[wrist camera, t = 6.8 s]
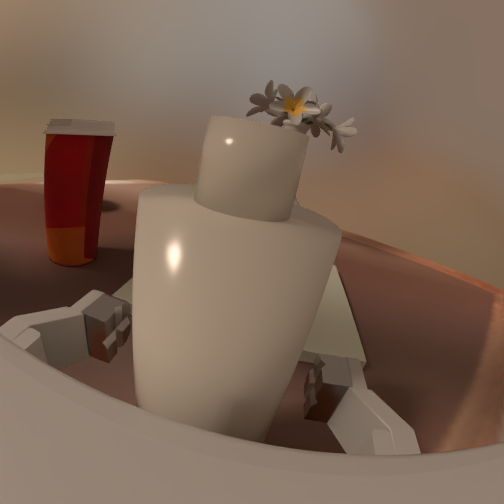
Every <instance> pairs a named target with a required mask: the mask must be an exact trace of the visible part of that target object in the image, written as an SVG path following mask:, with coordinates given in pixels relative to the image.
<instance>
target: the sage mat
mask: <svg viewBox="0 0 504 504" xmlns="http://www.w3.org/2000/svg"><path fill="white" fill-rule="evenodd" d="M132 293H133V278H131V279H130V280H129V281H128V282H127V283H125V284H124V285H123V286H122V287H121V288H120V289H118V290H117V291H116V292H115V293H114V294H113V295H112V296H114V297H117V298H119V299H122V300H125V301H127V302H129V304H130V314H131V315H132ZM318 353H322V354H328V355H334V356H339V357H348V358H356V359H359V360H360V363H361V366H362V370H363V368H364V366H365V364H366V362H367V361H366V358H365V354H364V351H363V348H362V344H361V341H360V338H359V334H358V331H357V328H356V325H355V322H354V319H353V316H352V312H351V309H350V306H349V303H348V300H347V297H346V294H345V291H344V288H343V286H342V283H341V280H340V277H339V274H338V271H337V268H336V266H335V265H333V267H332V270H331V273H330V276H329V279H328V282H327V285H326V288H325V291H324V294H323V296H322V299H321V302H320V305H319V308H318V311H317V313H316V316H315V319H314V322H313V324H312V327H311V330H310V332H309V335H308V338H307V340H306V343H305V346H304V348H303V351H302V353H301V356H300V358H299V361H303V362H308V363H313V361H314V359H315V357H316V355H317V354H318Z"/></svg>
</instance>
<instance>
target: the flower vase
mask: <svg viewBox="0 0 504 504" xmlns="http://www.w3.org/2000/svg"><path fill="white" fill-rule="evenodd" d="M278 91H279V93H280V95H281V97H280V98H279V97H276V94H277V92H278ZM265 95H266V97H267V98H266V97H265V96H264V95H262V94H258V93H256V94H253V95H251V97H250V102H251V103H253V104H255V105H258V107H257V106H256V107H254V108H252V109H251V110H250V111H249V112H248V113H247V115H246V116H247V117H248V116H251V115H253V114H255V113H258V112H263V111H266V113H268V114H270V115H272V116H275V117H276V118H274V119H273V120H272V121H271V123H270V124H271V125H275V126H279V127H281V126H283V125H284V128H287V129H290V130H294V131H297V132H300V133H303V134H305V135H306V133H307V131H308V130H309V129H311V133H312V135H313V136H314V137H318V136H319V135H320V128H321V129H322V130H324V131H325V132H326V133H327V134H328V135H329V136H330V134H329V132H328V130H330V131H333V139H332V145H331V150H333V149H334V147H335V146H336V144H337V147H338V151H339V152H340V153H342V152H343V150H344V147H345V141H344V138H343V137H342V136H344V137H352V136H354V135H355V134H356V133H357V129H356V128H352V127H350V128H349V127H348V126H350V125H351V124H352V123H353V121H354V117H353V118H351V119H350V120H348V121H346V122H345V123H343V124H341V125H339V126H337V127H336V126H335V124H334V123H333V122H331V121H330V120H328V119H325V118H324V117H325V116H327V115H328V114H329V113H330V111H331V109H332V106H331V104H330V103H325V104H322V105H321V106H320V107H319V104H318V100H317V96H316V94H315V99H314V101H312V100H311V99H309V98H310V96H311V95H312V89H311V88H310V87H308V86H307V87H303V88H302V89H300V90H299V91H298V92H297V93H296V95H295V97H294V94H293V92H292V90H291V89H290V88H289V87H288V86H286V85H284V84H279V85H278V89H276V90H274V91H273V81H272V80H271V81H270V82H269V83H268V84H267V86H266V89H265ZM275 98H277V99H278V100H279V101H274V100H275ZM259 106H260V107H259ZM309 125H310V126H309ZM319 127H320V128H319ZM341 135H342V136H341ZM294 204H296V205H299V203H298V202H297V199H296V196H295V200H294ZM299 206H300V205H299Z"/></svg>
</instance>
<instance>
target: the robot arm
mask: <svg viewBox="0 0 504 504" xmlns="http://www.w3.org/2000/svg"><path fill="white" fill-rule="evenodd" d="M129 314H130V304H129V302H127V301H125V300H122V299H119V298H117V297H114V296H111V295H109V294H105V293H104V292H101V291H98V290H92V291H90V292H89V293H88V294H86V295H85V296H84V297H83V298H81V299H80V300H79V301H78V302H76V303H75V304H74V305H72V306H71V307H70V308H69V307H67V306H66V307H61V308H56V309H51V310H46V311H40V312H35V313H30V314H25V315H19V316H14V317H13V318H12V319H10V320H9V321H8V322H6V323H5V324H4V325H2V326H1V327H0V504H504V442H500V443H496V444H491V445H486V446H481V447H475V448H469V449H462V450H455V451H446V452H436V453H424V454H421V452H420V449H419V446H418V442H417V439H416V436H415V432H414V429H412V428H411V427H410V426H409V425H408V424H407V423H406V422H405V421H404V420H403V419H402V418H401V417H400V416H399V415H397V414H396V413H395V412H394V411H393V410H392V409H391V408H390V407H389V406H388V405H387V404H386V403H385V402H384V401H383V400H381V399H380V398H379V397H378V396H377V395H376V394H375V393H374V392H373V391H372V390H368V389H367V385H366V381H365V377H364V374H363V370H362V366H361V363H360V360H359V359H356V358H348V357H339V356H334V355H328V354H322V353H318V354H317V355H316V357H315V359H314V361H313V365H314V368H313V369H312V370H310V371H309V373H308V375H307V378H306V381H305V385H304V397H305V398H306V401H305V403H304V419H307V420H313V421H319V422H325V423H327V425H328V426H329V428H330V429H331V431H332V432H333V434H334V435H335V437H336V438H337V440H338V441H339V443H340V444H341V446H342V447H343V449H344V450H345V452H346V453H347V454H342V453H328V452H318V451H309V450H301V449H293V448H287V447H280V446H274V445H269V444H263V443H258V442H253V441H248V440H244V439H239V438H235V437H231V436H226V435H222V434H219V433H215V432H211V431H207V430H204V429H200V428H197V427H193V426H190V425H187V424H183V423H180V422H177V421H174V420H171V419H168V418H165V417H162V416H159V415H157V414H154V413H151V412H148V411H146V410H143V409H141V408H138V407H135V406H133V405H130V404H128V403H126V402H123V401H121V400H118V399H116V398H114V397H112V396H109V395H107V394H105V393H103V392H100V391H98V390H96V389H94V388H92V387H90V386H88V385H86V384H84V383H82V382H80V381H78V380H76V379H74V378H72V377H70V376H68V375H66V374H65V373H63V372H61V371H59V370H58V369H60V368H63V367H65V366H68V365H70V364H72V363H75V362H77V361H79V360H82V359H84V358H86V357H89V355H90V356H92V357H94V358H97V359H99V360H102V361H104V362H107V363H109V362H110V361H111V360H112V359H113V357H114V356H115V355H116V354H117V347H120V346H123V345H124V344H125V342H126V341H127V339H128V336H129V334H130V321H129V319H128V317H127V316H128V315H129Z"/></svg>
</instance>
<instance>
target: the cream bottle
mask: <svg viewBox="0 0 504 504" xmlns="http://www.w3.org/2000/svg"><path fill="white" fill-rule="evenodd" d="M308 141H309V136H307V135H305V134H303V133H300V132H297V131H294V130H290V129H287V128H283V127H279V126H275V125H271V124H267V123H262V122H257V121H252V120H247V119H240V118H234V117H226V116H209V119H208V124H207V129H206V133H205V138H204V144H203V149H202V154H201V160H200V164H199V170H198V176H197V181H196V184H185V183H177V184H162V185H155V186H151V187H148V188H145V189H144V190H142V191H141V192H140V194H139V200H138V210H137V221H136V232H135V246H134V264H133V293H132V334H133V363H134V380H135V394H136V405H137V407H138V408H141V409H143V410H146V411H148V412H151V413H154V414H157V415H159V416H162V417H165V418H168V419H171V420H174V421H177V422H180V423H183V424H187V425H190V426H193V427H197V428H200V429H204V430H207V431H211V432H215V433H219V434H222V435H226V436H231V437H235V438H239V439H244V440H248V441H253V442H258V443H263V441H264V439H265V437H266V435H267V432H268V430H269V428H270V426H271V424H272V422H273V419H274V417H275V415H276V413H277V410H278V408H279V406H280V404H281V401H282V399H283V397H284V395H285V392H286V390H287V388H288V385H289V383H290V380H291V378H292V376H293V373H294V371H295V368H296V366H297V363H298V361H299V358H300V356H301V353H302V351H303V348H304V346H305V343H306V340H307V338H308V335H309V332H310V330H311V327H312V324H313V322H314V319H315V316H316V313H317V311H318V308H319V305H320V302H321V299H322V296H323V294H324V291H325V288H326V285H327V282H328V279H329V276H330V273H331V270H332V267H333V263H334V260H335V257H336V254H337V251H338V248H339V244H340V241H341V238H342V232H341V230H340V228H339V227H338V226H337V225H336V224H334V223H333V222H332V221H330V220H329V219H327V218H325V217H323V216H322V215H320V214H318V213H316V212H313V211H311V210H309V209H306V208H304V207H301V206H299V205H296V204H294V200H295V196H296V192H297V188H298V183H299V179H300V175H301V171H302V167H303V162H304V158H305V154H306V150H307V145H308Z"/></svg>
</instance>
